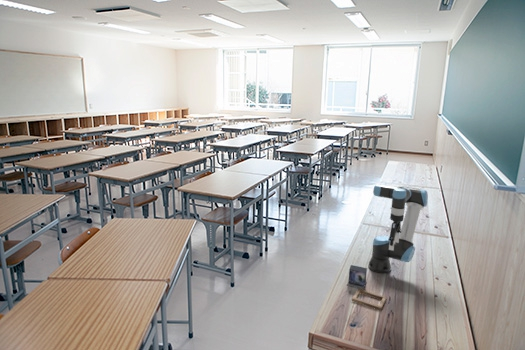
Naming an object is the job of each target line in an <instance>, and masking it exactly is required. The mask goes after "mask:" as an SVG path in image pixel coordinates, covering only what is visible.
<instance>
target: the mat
mask: <svg viewBox="0 0 525 350" xmlns="http://www.w3.org/2000/svg"><path fill="white" fill-rule="evenodd" d="M367 283H368V282H367V281H366V283H365V285H366V284H367ZM346 286H349V287H352V288H356V289H357V290H358V289H363V290H364V288H365V287H363V286H359V285H354V284H350V283H348V282H347V283H346Z"/></svg>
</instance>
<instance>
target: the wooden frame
mask: <svg viewBox="0 0 525 350" xmlns="http://www.w3.org/2000/svg"><path fill="white" fill-rule="evenodd" d="M361 294H363V295H365V296H369V297H372V298H374V297H375V299H377V298H378V300H380V302H379V303H378V304H375V303H373V302H370V301H366V300H363V299H362V298H361V299H360V298H359V296H360V295H361ZM351 301H352V302H353V303H357V304H360V305H363V306H365V307H368V308H371V309H374V308H375V310H377V311H380V312H381V311H382V309H384V308H383V307H384V306H383V305H385V303H386V302H387V296H384V295H382V294H381V295H380V294H378V293H376V292H372V291H368V290H365V289H364V288H363V289H358V288H357V290H356V292H355V293H354V294H353V296H352V299H351Z"/></svg>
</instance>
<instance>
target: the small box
mask: <svg viewBox="0 0 525 350" xmlns="http://www.w3.org/2000/svg"><path fill="white" fill-rule="evenodd" d="M367 270H368V268H367V267H362V266H359V265H353V264H351V265H350V267H349V269H348V282H347V283H350V284H354V285H359V286H363V287H364V288H365V287H366V284H367V283H366V282H367V281H366V280H367V273H368V272H367ZM365 283H366V284H365Z"/></svg>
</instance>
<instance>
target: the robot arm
mask: <svg viewBox="0 0 525 350" xmlns="http://www.w3.org/2000/svg"><path fill="white" fill-rule="evenodd" d="M372 193H373V196H374V197H375V196H376V197H378V198H385V199H391V206H390V217H389V219H390V220H391V221H392V223H391V229H390V232H389V236H388V235H386V236H385V235H378V236H375V237H374V238H373V242H372V250H371V251H372V252H371V258H370V259H369V262H368V268H369V269H370V270H371V271H373V272H376V273H379V274H386V273H390V271H391V269H392V265H391V262H390V261H391V260H390V259H393V260H396V261H399V262H404V263H410V262H411V261H412V259H413V257H414V255H415V252H416V247H415V245H414V242H413V238H414V235H415V231H416V227H417V223H418V221H419V220H418V219H419V217H420V214H421V213H420V212H421V211H422V210H424V207H427V206H428V196H429V195H428V191H427V190H426V189H422V188H415V187H411V186H410V187H409V186H387V185H381V184H375V186H374V188H373V191H372ZM405 208H406V211H405ZM404 215H405V216H404ZM401 222H402V225H401Z"/></svg>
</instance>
